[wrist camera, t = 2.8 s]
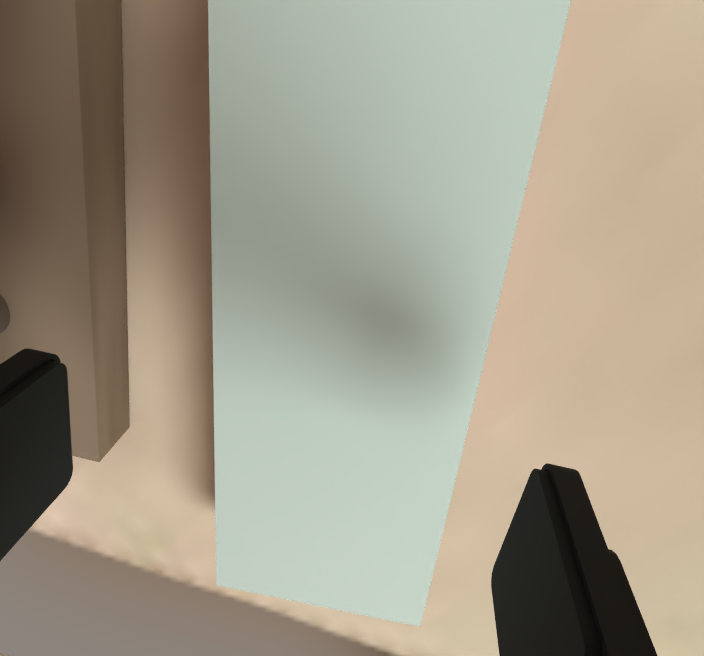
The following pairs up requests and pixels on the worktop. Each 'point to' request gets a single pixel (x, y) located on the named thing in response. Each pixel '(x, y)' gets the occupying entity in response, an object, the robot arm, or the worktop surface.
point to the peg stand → (66, 204)
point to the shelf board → (359, 275)
